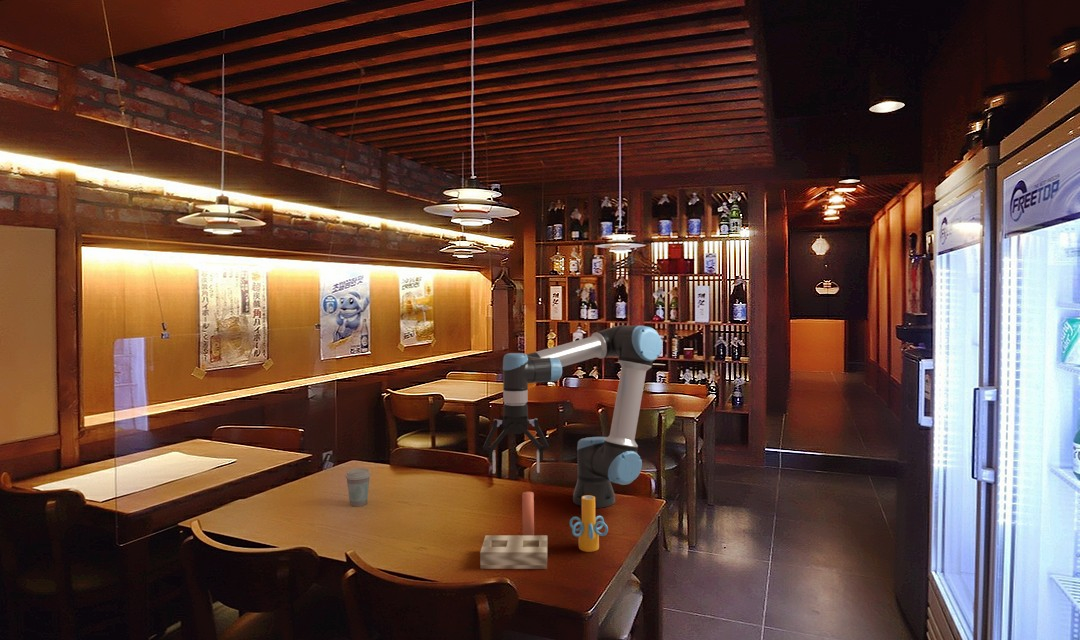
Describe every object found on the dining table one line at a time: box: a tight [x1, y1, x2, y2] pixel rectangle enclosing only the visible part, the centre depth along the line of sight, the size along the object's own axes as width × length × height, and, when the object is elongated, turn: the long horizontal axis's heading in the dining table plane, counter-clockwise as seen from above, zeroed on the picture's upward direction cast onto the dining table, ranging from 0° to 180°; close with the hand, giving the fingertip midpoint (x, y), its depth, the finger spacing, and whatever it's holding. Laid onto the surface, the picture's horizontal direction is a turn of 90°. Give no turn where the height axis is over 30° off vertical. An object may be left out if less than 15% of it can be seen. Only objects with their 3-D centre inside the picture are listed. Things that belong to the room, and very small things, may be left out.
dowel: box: [521, 491, 535, 535], centre depth 186 cm, size 4×4×14 cm
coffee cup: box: [345, 467, 371, 508], centre depth 220 cm, size 8×8×12 cm
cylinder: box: [569, 495, 609, 553], centre depth 178 cm, size 12×10×15 cm
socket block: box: [479, 534, 549, 570], centre depth 171 cm, size 18×12×4 cm, turn 88°
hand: (516, 472), depth 188 cm, fingers open, 13 cm apart
